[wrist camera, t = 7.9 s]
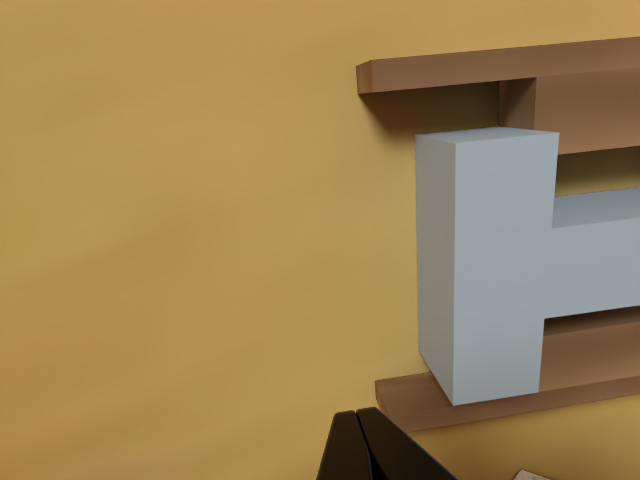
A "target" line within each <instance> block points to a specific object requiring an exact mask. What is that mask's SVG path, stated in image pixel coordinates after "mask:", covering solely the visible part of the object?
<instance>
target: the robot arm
mask: <svg viewBox="0 0 640 480" xmlns="http://www.w3.org/2000/svg"><path fill="white" fill-rule="evenodd" d="M316 480H458V479H457V478H456V477H455V476H454V475H453V474H452V473H450V472H449V471H448V470H447V469H446V468H445V467H444V466H442V465H441V464H440V463H439V462H438V461H437V460H436V459H435V458H433V457H432V456H431V455H430V454H429V453H428V452H427V451H425V450H424V449H423V448H422V447H421V446H420V445H419V444H417V443H416V442H415V441H414V440H413V439H412V438H411V437H410V436H408V435H407V434H406V433H405V432H404V431H403V430H402V429H400V428H399V427H398V426H397V425H396V424H395V423H394V422H392V421H391V420H390V419H389V418H388V417H387V416H386V415H385V414H383V413H382V412H381V411H380V410H379V409H378V408H376V407H369V408H363V409H358V410H357V411H356V413H355V412H354V411H353V410H350V411H344V412H338V413H336V414H335V415H334V417H333V420H332V424H331V428H330V431H329V435H328V439H327V442H326V446H325V449H324V453H323V457H322V460H321V464H320V468H319V471H318V475H317V478H316Z"/></svg>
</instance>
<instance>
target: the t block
mask: <svg viewBox="0 0 640 480" xmlns="http://www.w3.org/2000/svg"><path fill="white" fill-rule="evenodd" d="M558 143H559V133H557V132H547V131H537V130H528V129H518V128H508V127H498V126H497V127H487V128H476V129H466V130H456V131H446V132H435V133H425V134H415V176H416V233H417V291H418V348H419V352H420V354H421V356H422V357H423V359H424V360H425V362H426V364H427V365H428V367H429V368H430V370H431V371H432V373H433V375H434V376H435V378H436V379H437V381H438V383H439V384H440V386H441V387H442V389H443V391H444V392H445V394H446V395H447V397H448V399H449V400H450V402H451V403H452V405H453V406H455V405H461V404H468V403H474V402H480V401H487V400H493V399H500V398H506V397H512V396H519V395H525V394H531V393H538V392H539V380H540V367H541V355H542V342H543V330H544V319H545V318H552V317H559V316H567V315H574V314H581V313H588V312H595V311H602V310H609V309H616V308H623V307H630V306H638V305H640V187H635V188H626V189H618V190H609V191H600V192H591V193H583V194H574V195H565V196H556V197H554V193H555V181H556V168H557V156H558Z"/></svg>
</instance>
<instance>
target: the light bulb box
mask: <svg viewBox="0 0 640 480" xmlns="http://www.w3.org/2000/svg"><path fill="white" fill-rule="evenodd" d="M514 480H550V479H548V478H545V477H542V476H539V475H536V474H533V473H530V472H527V471H524V470H520V471H519V473H518V474H517V476H516V477H515V479H514Z"/></svg>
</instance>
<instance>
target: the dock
mask: <svg viewBox="0 0 640 480" xmlns="http://www.w3.org/2000/svg"><path fill="white" fill-rule="evenodd" d="M356 73H357V90H358V94H361V93H372V92H383V91H393V90H404V89H414V88H425V87H436V86H446V85H457V84H468V83H478V82H489V81H499V80H500V89H499V119H498V127H508V128H518V129H528V130H537V131H547V132H557V133H559V143H558V155H559V154H568V153H577V152H586V151H595V150H604V149H613V148H622V147H631V146H640V37H630V38H618V39H607V40H595V41H584V42H572V43H561V44H549V45H538V46H527V47H515V48H504V49H492V50H481V51H469V52H458V53H446V54H435V55H423V56H412V57H401V58H389V59H378V60H370V61H368V62H365V63H363V64H360V65H358V66H356ZM375 389H376V400H377V402H378V405H379V407H380V410H381V412H382V413H383V414H385V415H386V416H387V417H388V418H389V419H390V420H391V421H392V422H394V423H395V424H396V425H397V426H398V427H399V428H400V429H402V430H403V431H404V432H405V433H408V432H414V431H420V430H426V429H432V428H438V427H444V426H450V425H456V424H462V423H468V422H474V421H480V420H486V419H492V418H498V417H504V416H510V415H516V414H522V413H528V412H534V411H540V410H546V409H552V408H558V407H564V406H570V405H576V404H582V403H588V402H594V401H600V400H606V399H612V398H618V397H624V396H630V395H636V394H640V305H638V306H630V307H623V308H616V309H609V310H602V311H595V312H588V313H581V314H574V315H567V316H559V317H552V318H545V319H544V330H543V342H542V355H541V367H540V380H539V392H538V393H531V394H525V395H519V396H512V397H506V398H500V399H493V400H487V401H480V402H474V403H468V404H461V405H455V406H453V405H452V403H451V402H450V400H449V399H448V397H447V395H446V394H445V392H444V391H443V389H442V387H441V386H440V384H439V383H438V381H437V379H436V378H435V376H434V375H433V373H432V372H429V373H422V374H416V375H409V376H403V377H396V378H390V379H383V380H377V381H375Z"/></svg>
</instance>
